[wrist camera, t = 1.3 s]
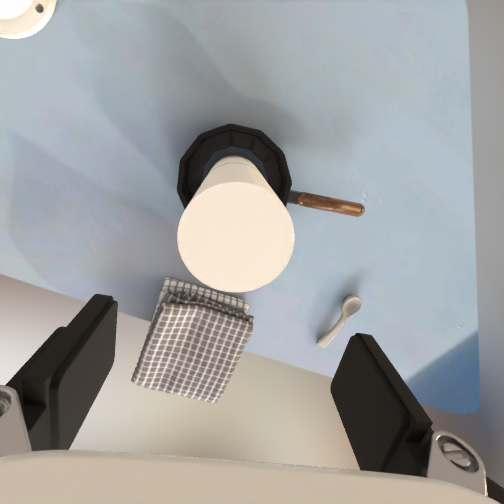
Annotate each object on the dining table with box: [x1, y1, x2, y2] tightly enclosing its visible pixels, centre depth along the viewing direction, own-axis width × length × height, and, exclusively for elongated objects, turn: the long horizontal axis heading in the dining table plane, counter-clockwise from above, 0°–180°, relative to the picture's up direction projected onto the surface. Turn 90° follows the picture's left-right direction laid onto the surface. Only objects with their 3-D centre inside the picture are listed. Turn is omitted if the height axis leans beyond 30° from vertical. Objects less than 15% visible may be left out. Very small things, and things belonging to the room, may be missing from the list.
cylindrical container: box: [177, 155, 295, 292], centre depth 29 cm, size 7×7×25 cm
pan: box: [177, 124, 365, 217], centre depth 39 cm, size 14×25×4 cm, turn 78°
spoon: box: [316, 295, 362, 348], centre depth 50 cm, size 3×12×2 cm, turn 153°
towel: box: [131, 277, 254, 403], centre depth 46 cm, size 15×18×8 cm
